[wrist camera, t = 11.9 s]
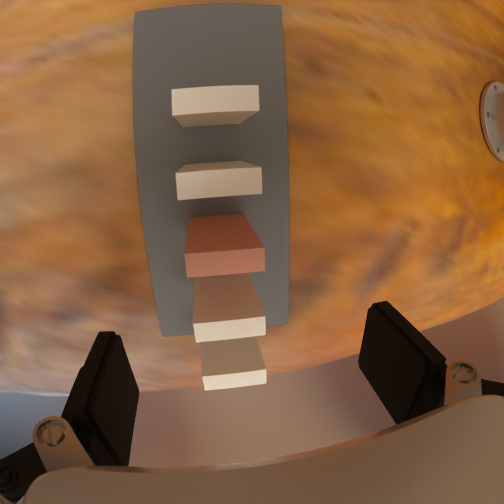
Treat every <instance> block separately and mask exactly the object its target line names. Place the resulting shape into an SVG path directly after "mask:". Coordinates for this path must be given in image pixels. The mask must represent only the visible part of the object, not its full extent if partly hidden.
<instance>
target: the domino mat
mask: <svg viewBox="0 0 504 504" xmlns="http://www.w3.org/2000/svg"><path fill="white" fill-rule="evenodd" d="M230 85H258V87H259V111H258V112H257V113H255V114H254V115H252V116H250V117H249V118H247V119H246V120H244V121H243V122H241V123H240V124H226V125H209V126H195V127H184V128H183V127H182V126H181V125H180V124H179V123H178V121H177V120H176V119H175V118H174V117H173V116H172V92H171V90H172V89H182V88H193V87H208V86H230ZM133 118H134V139H135V155H136V168H137V179H138V189H139V199H140V207H141V216H142V224H143V231H144V238H145V245H146V251H147V258H148V264H149V270H150V276H151V281H152V287H153V292H154V297H155V302H156V307H157V312H158V317H159V321H160V326H161V331H162V335H163V337H167V336H181V335H194V334H195V333H194V327H193V298H194V277H191V278H187V273H186V264H185V255H184V253H185V246H186V239H187V233H188V226H189V220H190V217H201V216H214V215H228V214H244V215H245V217H246V218H247V220H248V222H249V223H250V225H251V226H252V228H253V229H254V231H255V233H256V234H257V236H258V237H259V239H260V241H261V242H262V244H263V245H264V247H265V271H261V272H250V273H249V275H250V278H251V280H252V283H253V286H254V288H255V291H256V293H257V296H258V299H259V301H260V304H261V306H262V309H263V312H264V314H265V326H266V327H268V326H276V325H283V324H288V306H289V161H288V125H287V99H286V78H285V59H284V43H283V28H282V14H281V6H277V5H262V4H201V5H186V6H175V7H166V8H158V9H151V10H145V11H139V12H135V23H134V42H133ZM223 161H244V162H247V163H250V164H253V165H256V166H259V167H261V168H262V194H253V195H237V196H223V197H210V198H198V199H187V200H178V198H177V186H176V172H177V171H179V170H180V169H181V168H182V167H183V166H184V165H185V164H196V163H209V162H223Z"/></svg>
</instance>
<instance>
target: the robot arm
mask: <svg viewBox="0 0 504 504" xmlns="http://www.w3.org/2000/svg"><path fill="white" fill-rule="evenodd" d="M480 116H481V124H482V129H483V133H484V137H485V140H486V142H487V145H488V147H489V149H490V151H491V152H492V154H493V155H494V156H495V157H496V158H497V159H498V160H500V161H502V162H504V84H503V83H501V82H490V83H489V84H487V85H486V87H485V88H484V91H483V93H482V97H481V105H480ZM445 361H446V358H445V357H444V356H443V355H442V354H441V353H440V352H439V351H438V350H437V349H436V348H435V347H434V346H433V345H432V344H431V343H430V342H429V341H428V340H427V339H426V338H425V337H424V336H423V335H422V334H421V333H420V332H419V331H418V330H417V329H416V328H415V327H414V326H413V325H412V324H411V323H410V322H409V321H408V320H407V319H406V318H405V317H403V316H402V315H401V314H400V313H399V312H398V311H397V310H396V309H395V308H394V307H393V306H392V305H391V304H390V303H389V302H387V301H383V302H378V303H373V304H372V306H371V307H370V308H369V309H368V312H367V318H366V324H365V330H364V335H363V340H362V345H361V350H360V355H359V360H358V363H359V367H360V369H361V371H362V372H363V374H364V375H365V377H366V378H367V380H368V381H369V383H370V385H371V386H372V388H373V389H374V391H375V392H376V393H377V395H378V397H379V398H380V400H381V401H382V403H383V404H384V406H385V408H386V409H387V411H388V412H389V414H390V415H391V417H392V418H393V420H394V421H395V423H396V424H397V425H395V426H392V427H389V428H387V429H384V430H381V431H378V432H375V433H372V434H369V435H366V436H363V437H359V438H357V439H353V440H349V441H346V442H342V443H339V444H335V445H331V446H327V447H324V448H319V449H315V450H311V451H307V452H302V453H297V454H292V455H287V456H281V457H276V458H270V459H264V460H257V461H249V462H241V463H233V464H222V465H210V466H192V467H129V466H128V465H129V458H130V450H131V442H132V436H133V429H134V423H135V417H136V410H137V404H138V399H139V389H138V386H137V383H136V381H135V378H134V375H133V372H132V369H131V367H130V364H129V361H128V358H127V355H126V352H125V349H124V346H123V342H122V339H121V337H120V335H116V333H115V332H114V331H106V332H99V333H98V335H97V337H96V339H95V341H94V344H93V346H92V348H91V350H90V352H89V355H88V357H87V359H86V362H85V364H84V366H83V367H81V369H80V370H79V373H78V375H77V378H76V380H75V382H74V385H73V387H72V390H71V392H70V395H69V397H68V400H67V403H66V405H65V408H64V410H63V413H62V416H61V417H57V416H51V417H47V418H44V419H43V420H41V421H39V422H38V424H37V425H36V426H35V428H34V430H33V434H32V437H33V443H31V444H29V445H27V446H26V447H24V448H22V449H20V450H18V451H16V452H14V453H13V454H11V455H9V456H7V457H5V458H3V459H1V460H0V504H504V383H498V382H494V381H489V380H484V379H481V375H480V372H479V370H478V369H477V367H476V366H474V365H473V364H471V363H469V362H467V361H463V360H458V361H453V362H451V363H450V364H449V365H448V366H447V365H446V364H445Z"/></svg>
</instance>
